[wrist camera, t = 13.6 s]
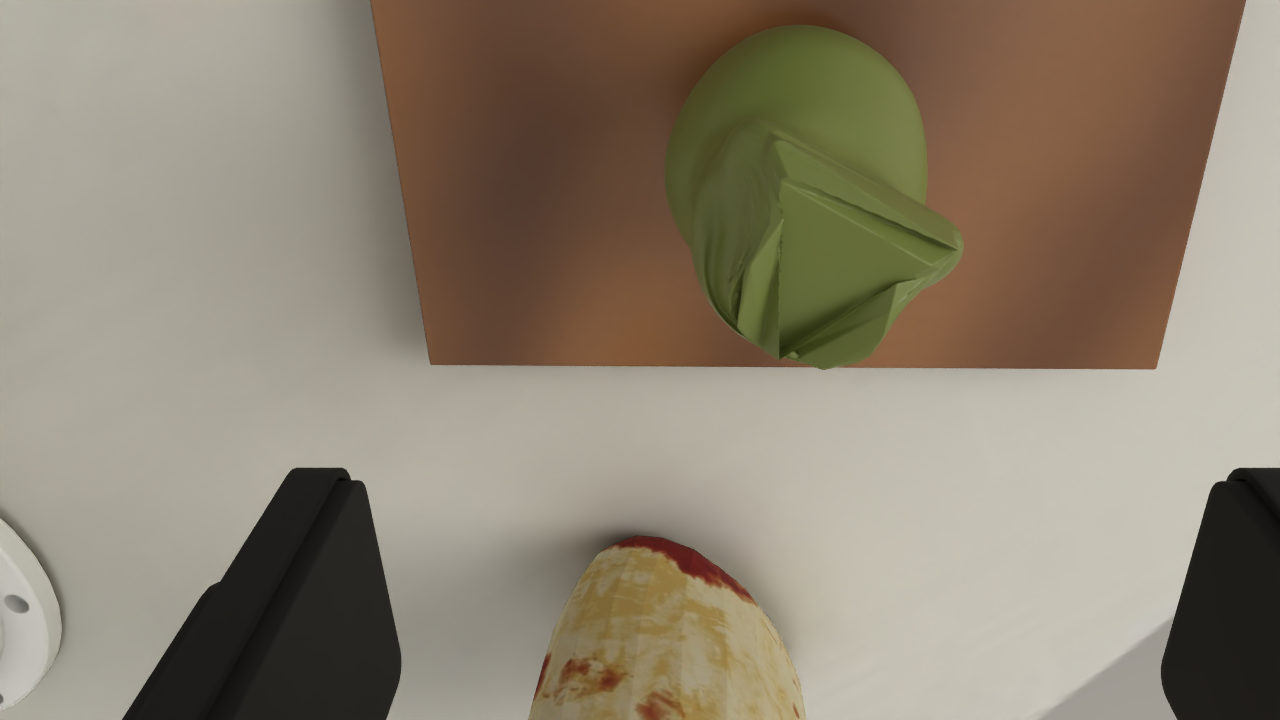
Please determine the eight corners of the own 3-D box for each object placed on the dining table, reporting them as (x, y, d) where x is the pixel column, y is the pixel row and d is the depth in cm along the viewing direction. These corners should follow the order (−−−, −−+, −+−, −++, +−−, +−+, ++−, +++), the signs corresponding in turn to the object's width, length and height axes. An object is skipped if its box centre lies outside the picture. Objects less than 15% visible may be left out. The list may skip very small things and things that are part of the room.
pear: (640, 158, 25) (591, 352, 17) (747, -41, 23) (753, 66, 14) (830, 258, 26) (876, 491, 18) (953, 77, 24) (1077, 246, 15)
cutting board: (442, 340, 30) (429, 365, 29) (367, -143, 24) (345, -139, 22) (1137, 344, 28) (1156, 370, 27) (1258, -181, 22) (1291, -178, 21)
